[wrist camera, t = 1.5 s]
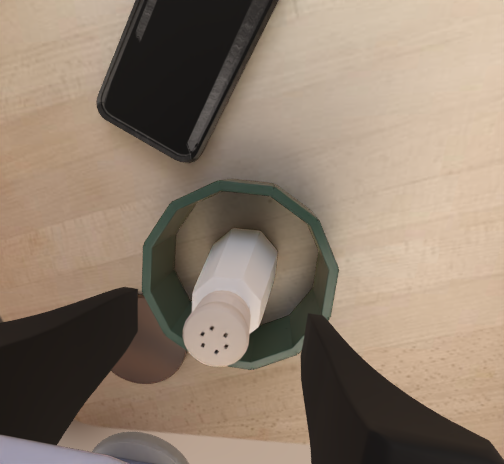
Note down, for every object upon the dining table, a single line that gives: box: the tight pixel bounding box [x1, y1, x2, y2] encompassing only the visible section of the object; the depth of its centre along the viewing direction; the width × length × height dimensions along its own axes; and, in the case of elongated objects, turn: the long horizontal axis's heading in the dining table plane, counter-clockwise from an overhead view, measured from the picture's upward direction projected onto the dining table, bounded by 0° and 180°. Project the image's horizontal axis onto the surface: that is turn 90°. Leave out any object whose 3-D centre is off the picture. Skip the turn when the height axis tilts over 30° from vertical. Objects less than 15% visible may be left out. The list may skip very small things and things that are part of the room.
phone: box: [97, 0, 278, 162], centre depth 19 cm, size 8×1×15 cm
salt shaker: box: [183, 228, 278, 367], centre depth 17 cm, size 5×5×11 cm
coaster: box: [111, 294, 187, 384], centre depth 24 cm, size 8×8×1 cm
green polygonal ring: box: [142, 179, 339, 370], centre depth 20 cm, size 12×12×4 cm
